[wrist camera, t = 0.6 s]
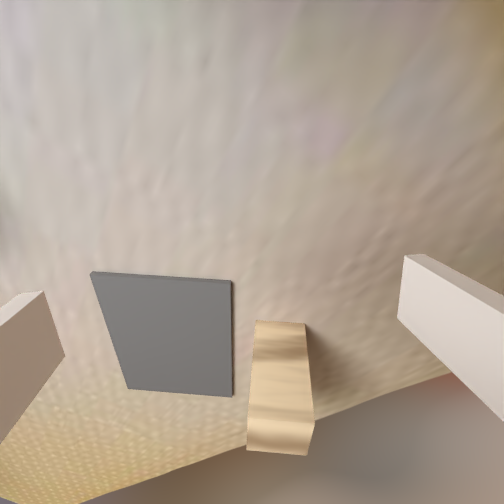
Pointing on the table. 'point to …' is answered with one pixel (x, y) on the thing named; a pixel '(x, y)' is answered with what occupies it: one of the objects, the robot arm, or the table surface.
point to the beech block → (280, 390)
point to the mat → (169, 331)
